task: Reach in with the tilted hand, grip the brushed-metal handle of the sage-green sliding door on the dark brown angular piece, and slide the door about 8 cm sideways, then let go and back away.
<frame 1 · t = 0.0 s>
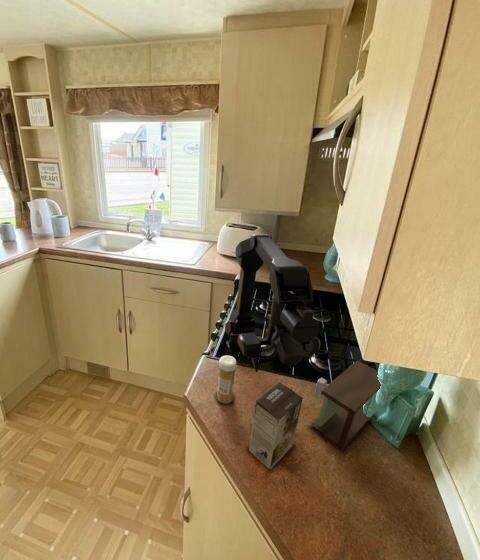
hand: (273, 369, 78), 15 cm above the worktop, tool pointing down, fingers open, 9 cm apart
sprinkles bottle: (224, 398, 89), on the worktop
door: (324, 399, 81), point 6 cm above the worktop, slide at 0.0 cm
coffee box: (270, 449, 75), on the worktop
dark brown angular piece: (344, 420, 83), on the worktop
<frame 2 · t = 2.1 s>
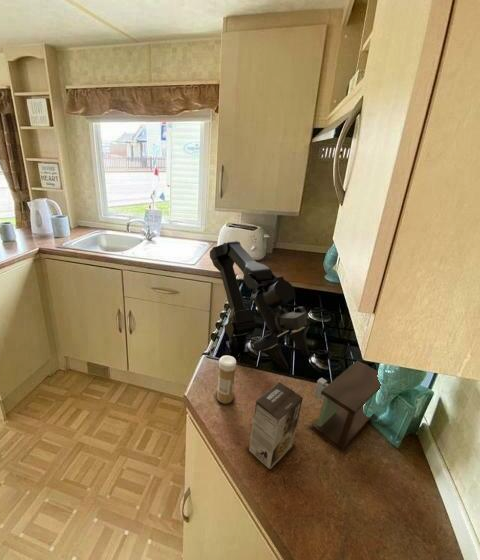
hand: (297, 362, 85), 12 cm above the worktop, tool tilted 45°, fingers open, 9 cm apart
nothing on the worktop moved.
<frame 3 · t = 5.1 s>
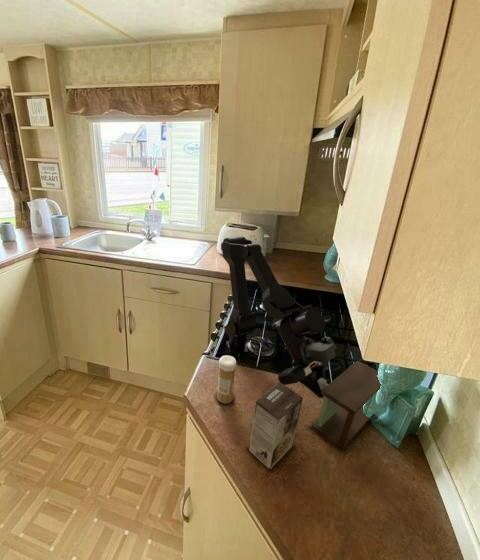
hand: (324, 395, 80), 8 cm above the worktop, tool tilted 45°, fingers closed on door, 2 cm apart
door: (324, 399, 81), point 6 cm above the worktop, slide at 0.0 cm, touching gripper
everything else where it was.
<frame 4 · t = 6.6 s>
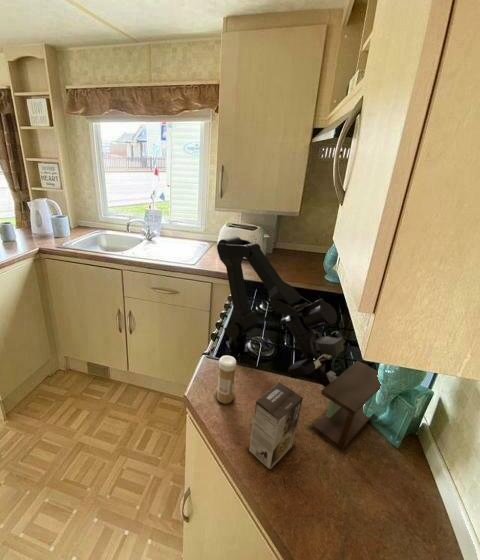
hand: (333, 387, 83), 8 cm above the worktop, tool tilted 45°, fingers closed on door, 2 cm apart
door: (333, 391, 83), point 6 cm above the worktop, slide at 4.3 cm, touching gripper
everything else where it was.
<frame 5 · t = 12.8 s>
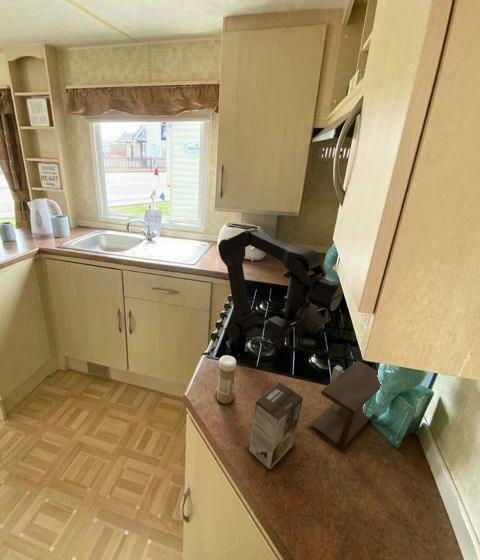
hand: (289, 342, 91), 13 cm above the worktop, tool pointing down, fingers open, 9 cm apart
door: (339, 385, 85), point 6 cm above the worktop, slide at 8.0 cm
everything else where it was.
at the end: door slide at 8.0 cm; the gripper is holding nothing; coffee box moved 0.2 cm from its start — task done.
